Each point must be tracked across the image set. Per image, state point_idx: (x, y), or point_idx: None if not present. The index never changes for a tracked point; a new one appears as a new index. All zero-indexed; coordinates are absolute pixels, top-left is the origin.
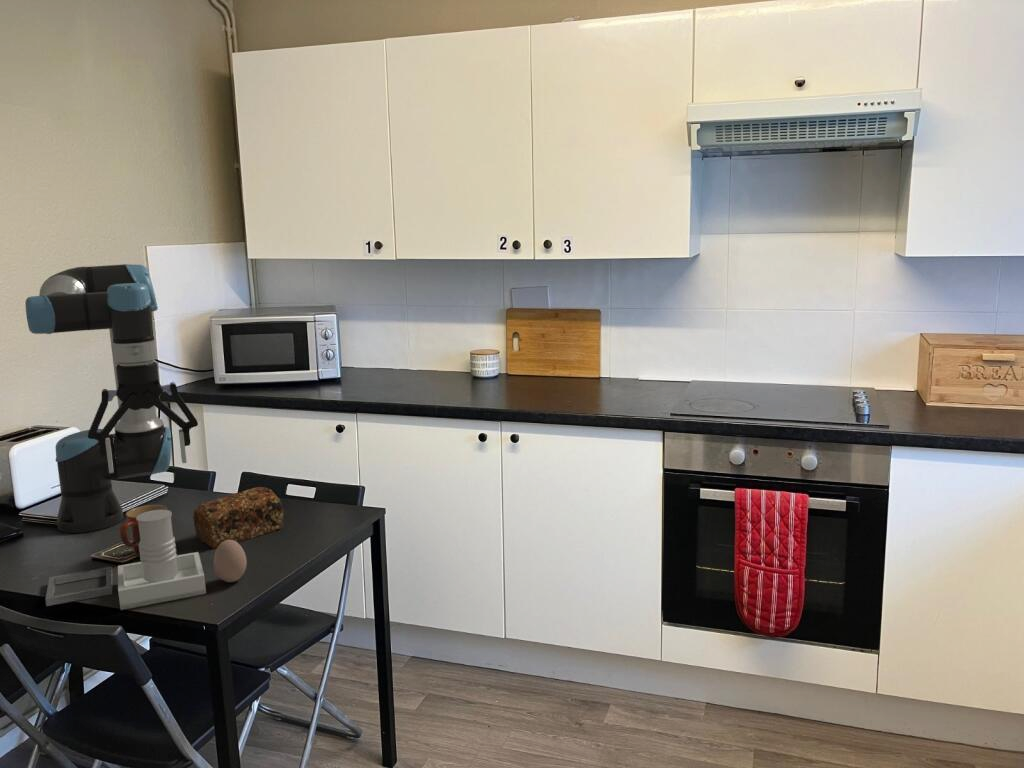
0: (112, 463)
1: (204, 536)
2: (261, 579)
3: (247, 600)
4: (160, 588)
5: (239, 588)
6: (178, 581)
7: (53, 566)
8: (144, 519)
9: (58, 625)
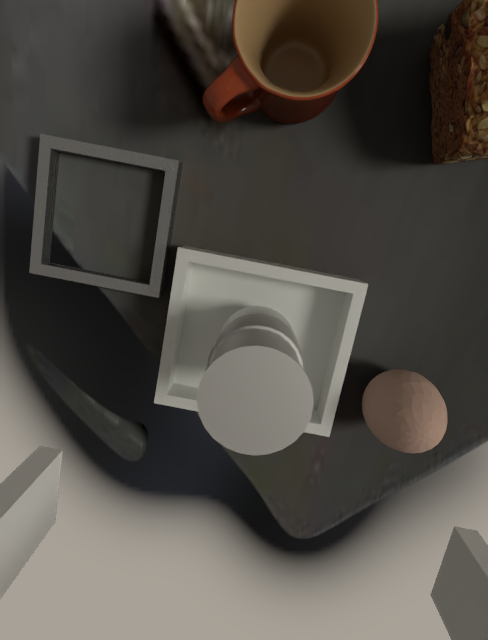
0: (31, 529)
1: (437, 107)
2: None
3: (375, 494)
4: None
5: None
6: None
7: (60, 4)
8: (217, 423)
9: (55, 379)
